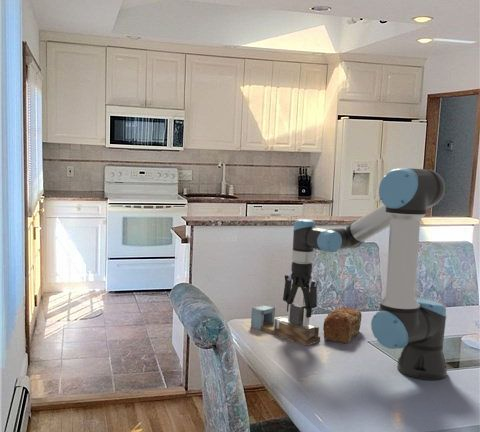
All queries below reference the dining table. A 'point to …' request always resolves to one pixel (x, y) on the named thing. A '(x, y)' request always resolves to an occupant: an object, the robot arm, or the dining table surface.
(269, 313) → the socket
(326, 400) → the dining table surface
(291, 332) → the rail
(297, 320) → the grey and white block
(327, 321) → the bread
